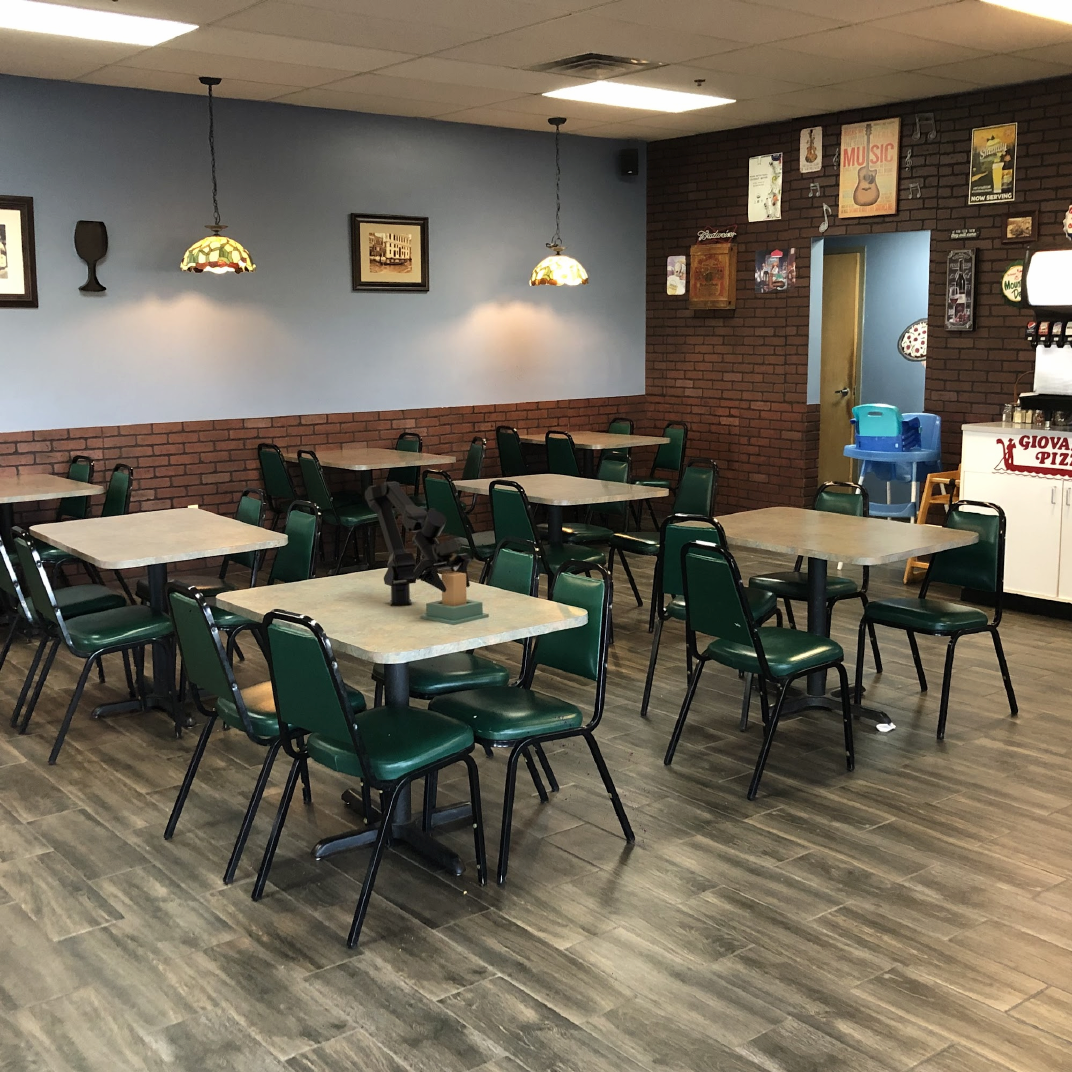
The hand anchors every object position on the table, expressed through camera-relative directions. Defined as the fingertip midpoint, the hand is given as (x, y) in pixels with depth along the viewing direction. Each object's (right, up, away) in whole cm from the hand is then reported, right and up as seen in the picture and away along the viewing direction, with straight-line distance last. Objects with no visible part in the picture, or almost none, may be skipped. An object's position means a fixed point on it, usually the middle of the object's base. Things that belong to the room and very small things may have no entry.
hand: (457, 588), depth 348 cm
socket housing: (-1, -8, +2) cm, 9 cm away
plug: (-1, -8, +2) cm, 8 cm away
